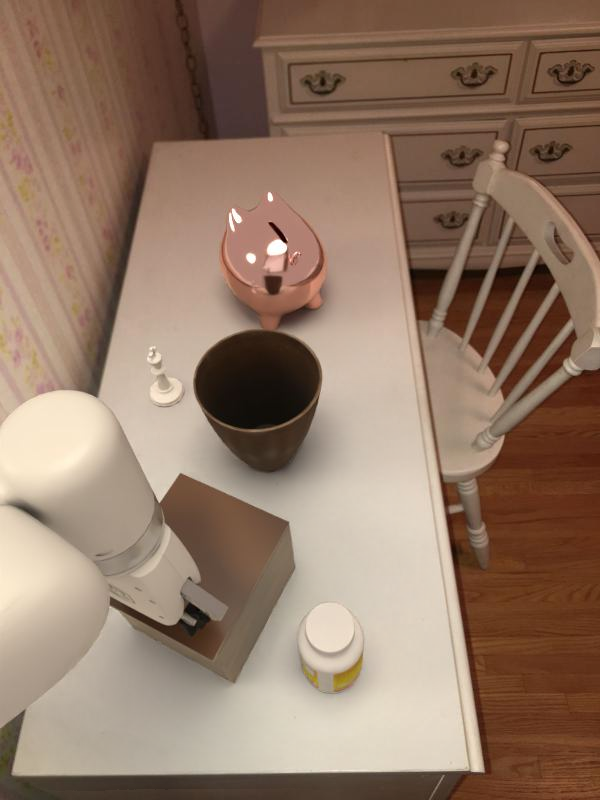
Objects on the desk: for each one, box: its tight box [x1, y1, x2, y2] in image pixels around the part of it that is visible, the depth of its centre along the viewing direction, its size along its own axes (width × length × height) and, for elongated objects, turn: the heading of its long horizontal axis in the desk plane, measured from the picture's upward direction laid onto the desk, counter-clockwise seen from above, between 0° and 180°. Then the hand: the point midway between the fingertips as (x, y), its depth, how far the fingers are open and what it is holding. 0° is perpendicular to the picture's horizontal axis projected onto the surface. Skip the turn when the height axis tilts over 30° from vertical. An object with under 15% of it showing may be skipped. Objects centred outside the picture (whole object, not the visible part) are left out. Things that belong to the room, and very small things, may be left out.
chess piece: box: [146, 345, 185, 408], centre depth 89 cm, size 5×5×10 cm
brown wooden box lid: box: [109, 472, 290, 662], centre depth 64 cm, size 15×14×5 cm
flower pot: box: [192, 328, 323, 473], centre depth 81 cm, size 15×15×16 cm
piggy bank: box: [218, 189, 328, 330], centre depth 98 cm, size 15×18×16 cm
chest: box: [118, 524, 296, 684], centre depth 71 cm, size 15×14×12 cm
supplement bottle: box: [296, 601, 365, 694], centre depth 66 cm, size 7×7×13 cm
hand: (162, 601), depth 61 cm, fingers open, 7 cm apart
